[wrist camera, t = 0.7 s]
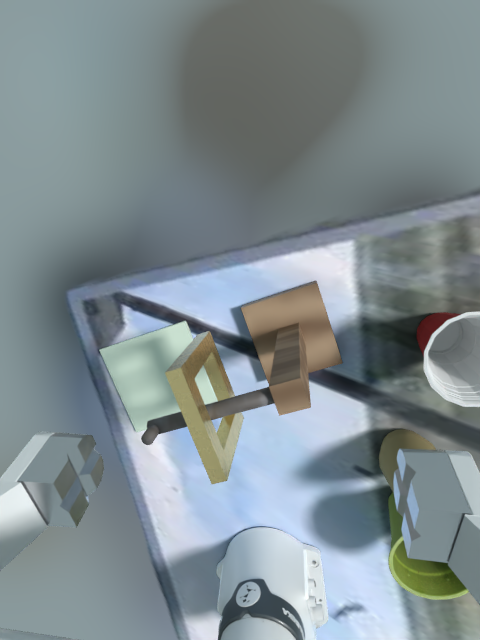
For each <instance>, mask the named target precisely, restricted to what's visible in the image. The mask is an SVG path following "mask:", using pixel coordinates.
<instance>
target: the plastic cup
mask: <svg viewBox="0 0 480 640" xmlns="http://www.w3.org/2000/svg"><path fill="white" fill-rule="evenodd" d="M417 341H418V343H419V347H420V349H421V352H422V354H423V356H424V372H425V374H426V376H427V378H428V381H429V383H430V385H431V387H432V388H433V389H434V390H435V391H436V392H437V393H438V394H440V395H441V396H442V397H443V398H444V399H445V400H447V401H450V402H453V403H456V404H458V405H461V406H464V407H480V312H467V313H464V314H455V313H454V314H451V313H446V312H445V313H434V314H432V315H429V316H427V317H426V318H425V319H424V320H422V321H421V322H420V324H419V327H418V329H417Z"/></svg>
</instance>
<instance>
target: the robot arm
mask: <svg viewBox="0 0 480 640" xmlns="http://www.w3.org/2000/svg"><path fill="white" fill-rule="evenodd" d="M95 445H96V442H95V440H94V438H93V436H92V435H83V434H69V433H55V432H39V433H38V434H36V435H34V436H33V438H32V439H31V440H30V441H29V443H28V444H27V445H26V446H25V448H24V449H23V450H22V451H21V453H20V454H19V455H18V456H17V458H16V459H15V460H14V462H13V463H12V464H11V465H10V467H9V468H8V469H7V470H6V472H5V473H4V474H3V475H2V477H1V478H0V571H1V570H2V569H3V568H4V567H5V566H6V565H7V564H8V563H9V562H10V561H12V560H13V559H14V558H15V557H16V556H17V555H18V554H19V553H20V552H21V551H23V549H24V548H26V547H27V546H28V545H29V544H30V543H31V542H32V541H34V540H35V539H36V538H37V537H38V536H39V535H40V534H41V533H42V532H43V531H44V530H46V529H47V528H48V526H63V527H77V526H78V524H79V522H80V520H81V518H82V516H83V514H84V513H85V510H86V509H87V507H88V505H89V502H88V495H90V494H91V493H92V492H94V491H95V490H96V489H97V488H98V486H99V484H100V481H101V479H102V474H103V470H104V465H103V459H102V457H101V455H100V454H99V453H98V452H97V451H95V450H94V447H95ZM397 462H398V466H399V468H398V469H397V470H396V471H395V473H394V497H395V503H396V508H397V511H398V512H399V514H400V515H401V516H402V517H403V523H402V528H401V530H402V535H403V539H404V543H405V548H406V552H407V556H408V558H411V559H420V560H428V561H436V562H445V563H448V566H449V567H450V568H451V570H452V571H453V572H454V573H455V575H456V576H457V577H458V578H459V580H460V581H461V582H462V583H463V585H464V586H465V587H466V588H467V590H468V591H469V592H470V593H471V595H472V596H473V597H474V598H475V600H476V601H477V602H478V603H479V605H480V472H479V470H478V468H477V466H476V464H475V462H474V460H473V457H472V455H471V454H470V453H469V452H468V451H446V450H445V451H443V450H427V449H399V451H398V455H397ZM313 560H314V561H313ZM216 574H217V576H218V577H219V579H220V588H219V596H218V604H217V610H218V612H219V613H220V615H221V620H220V624H219V635H218V640H316V628H319V627H320V626H322V625H324V624H325V623H326V622H327V621H328V606H327V599H326V591H325V583H324V576H323V568H322V560H321V553H320V551H319V550H318V549H317V548H315V547H313V546H310V545H307V544H303V543H301V542H299V541H298V540H297V539H295V538H294V537H292V536H291V535H289V534H287V533H285V532H283V531H281V530H278V529H274V528H267V527H258V528H252V529H248V530H245V531H243V532H241V533H239V534H238V535H237V536H235V537H234V538H233V539H232V541H231V542H230V544H229V546H228V548H227V552H226V555H225V557H224V558H223V559H222V560H221V561H220V562H219V563H218V565H217V568H216ZM0 640H77V639H70V638H64V637H57V636H50V635H43V634H37V633H30V632H23V631H16V630H10V629H3V628H0Z"/></svg>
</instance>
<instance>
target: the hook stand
mask: <svg viewBox="0 0 480 640" xmlns="http://www.w3.org/2000/svg"><path fill="white" fill-rule="evenodd" d="M241 310H242V313H243V315H244V318H245V321H246V323H247V326H248V329H249V332H250V334H251V337H252V340H253V343H254V345H255V348H256V351H257V353H258V356H259V359H260V362H261V364H262V367H263V370H264V372H265V375H266V378H267V381H268V383H269V387H267V388H264V389H260V390H256V391H253V392H249V393H246V394H242V395H238V396H235V397H231V398H228V399H224V400H220V401H217V402H213V403H210V404H206V405H205V406H206V409H207V411H208V413H209V416H210V418H211V420H213V419H217V418H221V417H225V416H228V415H232V414H236V413H240V412H243V411H247V410H251V409H255V408H258V407H262V406H266V405H270V404H273V403H275V405H276V408H277V410H278V413H279V416H280V415H283V414H287V413H291V412H295V411H299V410H303V409H307V408H310V407H311V403H310V391H309V379H308V373H310V372H313V371H317V370H320V369H324V368H328V367H331V366H335V365H338V364H342V363H343V362H342V359H341V356H340V353H339V350H338V347H337V343H336V340H335V337H334V334H333V331H332V328H331V325H330V322H329V319H328V315H327V312H326V309H325V306H324V303H323V300H322V297H321V294H320V291H319V288H318V284H317V281H314V282H311V283H308V284H305V285H302V286H299V287H296V288H292V289H289V290H286V291H283V292H280V293H277V294H274V295H271V296H268V297H265V298H262V299H259V300H256V301H253V302H250V303H247V304H244V305H242V307H241ZM184 427H187V424H186V422H185V420H184V417H183V415H182V412H177V413H174V414H170V415H166V416H163V417H159V418H156V419H152V420H149V421H148V422H147V430H146V431H145V433H144V434H143V436H142V438H141V439H142V442H143V443H144V444H146V445H150V444H152V443H153V441H154V440H155V438H156V437H157V435H158V434H161V433H165V432H169V431H172V430H176V429H180V428H184Z"/></svg>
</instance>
